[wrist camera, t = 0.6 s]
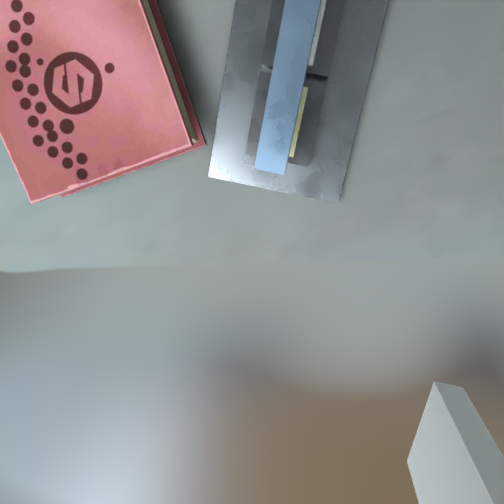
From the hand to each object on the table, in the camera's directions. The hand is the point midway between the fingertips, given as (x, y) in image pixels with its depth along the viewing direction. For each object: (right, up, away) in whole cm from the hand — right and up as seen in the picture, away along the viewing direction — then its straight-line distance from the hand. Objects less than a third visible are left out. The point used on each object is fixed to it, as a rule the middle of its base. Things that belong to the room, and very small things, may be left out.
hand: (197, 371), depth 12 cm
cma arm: (+4, +17, +14) cm, 22 cm away
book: (-11, +18, +23) cm, 32 cm away
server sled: (+5, +17, +21) cm, 27 cm away
